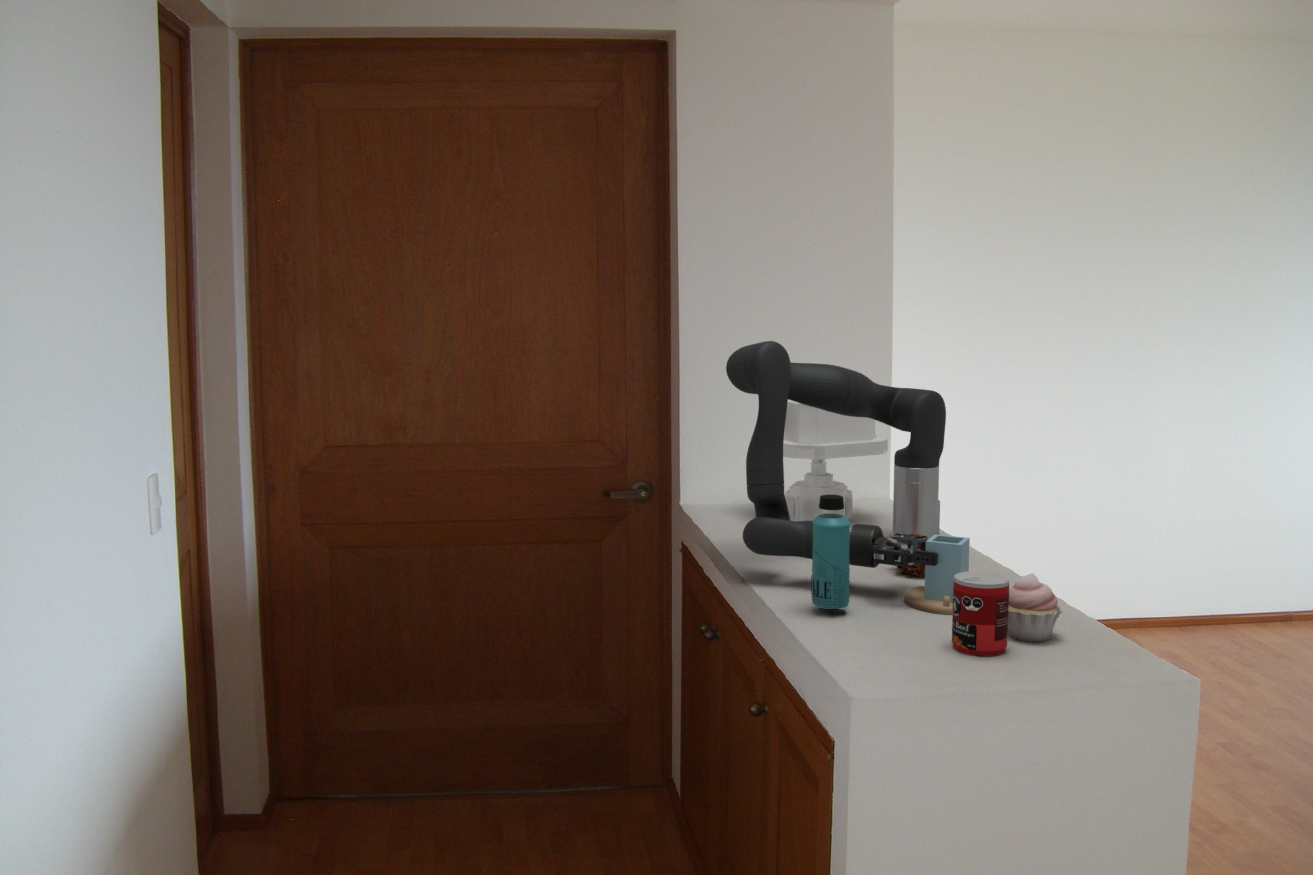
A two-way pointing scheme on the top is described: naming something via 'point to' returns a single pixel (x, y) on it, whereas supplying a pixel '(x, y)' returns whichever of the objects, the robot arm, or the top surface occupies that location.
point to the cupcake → (1032, 610)
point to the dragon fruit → (916, 568)
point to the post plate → (927, 602)
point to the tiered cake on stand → (824, 455)
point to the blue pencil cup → (945, 565)
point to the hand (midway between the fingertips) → (943, 553)
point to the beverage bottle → (830, 556)
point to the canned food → (980, 613)
